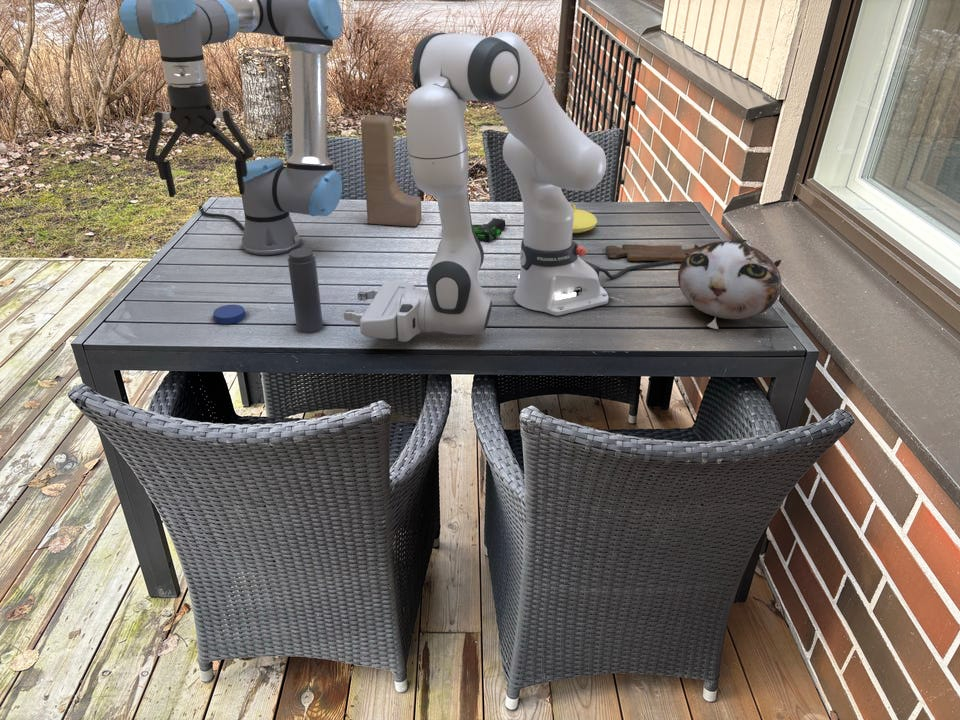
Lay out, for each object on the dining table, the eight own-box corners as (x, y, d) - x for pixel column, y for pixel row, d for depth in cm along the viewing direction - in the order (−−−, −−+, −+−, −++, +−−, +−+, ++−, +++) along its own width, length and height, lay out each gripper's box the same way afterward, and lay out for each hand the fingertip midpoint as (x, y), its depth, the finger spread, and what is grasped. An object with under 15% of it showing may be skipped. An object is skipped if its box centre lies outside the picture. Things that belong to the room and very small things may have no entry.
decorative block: (416, 227, 210) (413, 122, 195) (367, 224, 212) (359, 120, 196) (422, 218, 216) (419, 116, 201) (373, 215, 218) (367, 114, 203)
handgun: (511, 219, 210) (493, 234, 198) (511, 228, 211) (492, 244, 199) (461, 212, 215) (440, 226, 203) (461, 221, 217) (440, 236, 204)
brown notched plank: (705, 264, 190) (697, 250, 198) (707, 258, 189) (698, 245, 198) (608, 261, 190) (604, 247, 199) (609, 255, 189) (605, 241, 198)
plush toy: (655, 305, 156) (684, 221, 158) (671, 327, 172) (697, 250, 173) (760, 330, 146) (790, 239, 147) (766, 351, 161) (793, 268, 163)
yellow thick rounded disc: (559, 216, 220) (561, 193, 217) (605, 227, 212) (608, 204, 209) (532, 230, 209) (533, 207, 206) (580, 242, 201) (582, 218, 198)
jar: (298, 321, 159) (289, 247, 150) (324, 320, 159) (316, 247, 150) (295, 333, 154) (285, 258, 145) (321, 332, 154) (313, 257, 146)
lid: (250, 318, 160) (249, 312, 159) (220, 327, 156) (219, 320, 155) (238, 307, 164) (237, 301, 163) (209, 315, 160) (208, 309, 160)
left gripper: (112, 88, 130) (138, 202, 141) (254, 86, 134) (269, 196, 145) (122, 81, 136) (147, 190, 147) (257, 79, 140) (272, 185, 151)
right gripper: (425, 276, 158) (364, 271, 160) (402, 318, 141) (335, 312, 142) (426, 301, 161) (366, 297, 163) (404, 346, 144) (338, 340, 146)
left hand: (207, 193), depth 146 cm, fingers open, 13 cm apart
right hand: (351, 304), depth 153 cm, fingers open, 8 cm apart
